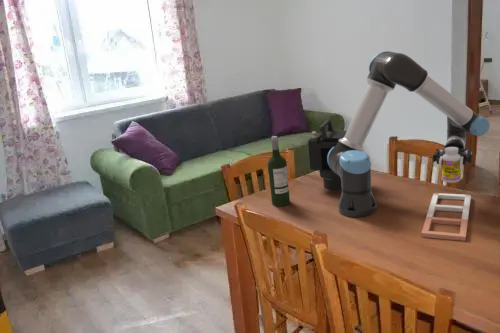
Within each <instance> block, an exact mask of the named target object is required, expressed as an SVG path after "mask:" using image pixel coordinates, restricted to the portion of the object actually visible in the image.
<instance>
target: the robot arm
mask: <svg viewBox="0 0 500 333" xmlns="http://www.w3.org/2000/svg"><path fill="white" fill-rule="evenodd" d="M368 71H369V73H368V75H367V77H366V81H367V86H366V89H365V90H364V93H363V95H362V96H361V99H360V102H359V104H358V106H357V108H356V110H355V112H354V115H353V117H352V119H351V121H350V123H349V126H348V128H347V130H346V131H347V132H346V134H345V136H344V138H342V139H339V140H338V143H337V145H336V146H334V147H333V148H332V149H331V150H330V151H329V153H328V156H327V162H328V165H329V167H330V168H331V170H332V171H333V172H334V173H336V174H337V175H338V176H339V177H340V178H341V186H342V190H341V195H340V197H339V202H338V207H337V208H338V212H339V213H340V215H343V216H346V217H351V218H352V217H353V218H362V217H367V216H370V215H371V216H372V215H373V214H375V213H376V212H377V210H378V208H377V207H378V206H377V205H378V204H377V201H376V200H375V195H374V194H373V191H372V162H371V158H370V157H371V156H370V155H369V154H368V153H367V152H366V151H365V149H364V144H365V142H366V140H367V137H368V136H369V134H370V132H371V129H372V127H373V125H374V123H375V121H376V119H377V117H378V115H379V113H380V110H381V109H382V106H383V104H384V102H385V99H386V98H387V95H388V94H389V92H391V91H394V90H395V88H396V85H397V86H400V87H402V88H404V89H406V90H407V91H408V92H410V93H413V92H414V93H416V94H417V95H418V96H420V97H421V98H422V99H424V100H425V101H426V102H427V103H429V104H430V105H432V106H433V107H434V108H436V109H437V110H438V111H439V112H441V114H444V115H445V116H446V125H447V128H446V142H445V144H444V148H443V149H439V148H436V149H435V152H434V153H433V155H432V162H433V163H435V162H436V164H437V165H438V169H442V156H443V155H444V154H446V153H445V148H447V147H457V148H458V154H459V155H460V156H461V160H460V169H461V170H462V169H463V166H464V165H467V163H468V164H471V163H473V162H472V161H473V149H470V148H469V149H467V150H466V149H465V148H466V147H465V146H466V143H467V133H469V134H471V135H473V136H477V137H482V136H484V135H486V134H487V133H488V131H489V130H490V127H491V124H490V121H489V120H488V118H487V117H485V116H480V115H479V114H478V113H476V112H475V111H474V110H472V108H470V107H468V106H467V105H466V104H465V103H464V102H462V101H461V100H460V99H458V98H457V97H456V96H454V95H453V94H452V93H451V92H449V91H448V90H447V89H445V88H444V87H443V86H442V85H441V84H440V83H438V82H437V81H435V80H434V79H433V78H432V77H430V76H429V73H428V70H426V69H424V67H422V66H421V65H420V64H419V63H418V62H416V61H415V60H414V59H412V58H411V57H410V56H408V55H406V54H405V53H401V52H393V51H390V50H389V51H380V52H378V53H377V54H375V55H374V56H373V57H372V58H371V59H370V62H369V64H368Z"/></svg>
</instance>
